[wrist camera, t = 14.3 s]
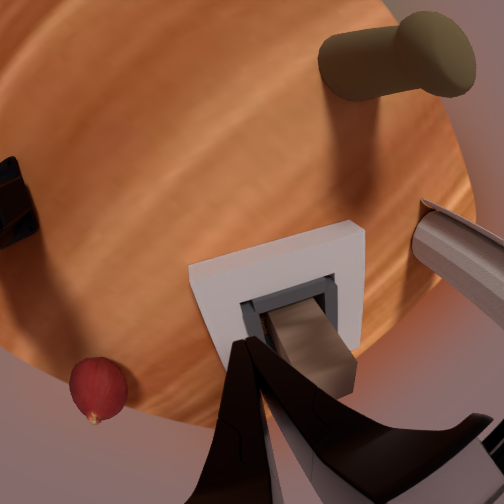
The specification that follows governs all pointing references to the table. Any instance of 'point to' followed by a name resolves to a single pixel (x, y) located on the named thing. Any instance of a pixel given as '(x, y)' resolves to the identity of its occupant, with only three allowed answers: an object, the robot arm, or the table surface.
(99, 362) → the onion
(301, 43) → the table surface
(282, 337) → the walnut peg
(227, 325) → the collar block
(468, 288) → the paper towel roll
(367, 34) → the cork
